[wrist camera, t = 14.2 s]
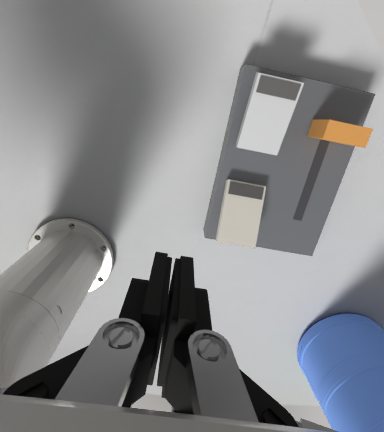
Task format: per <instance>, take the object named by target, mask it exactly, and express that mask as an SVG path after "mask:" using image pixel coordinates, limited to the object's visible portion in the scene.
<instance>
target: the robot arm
mask: <svg viewBox="0 0 384 432" xmlns="http://www.w3.org/2000/svg"><path fill="white" fill-rule="evenodd" d="M73 224H74V225H73ZM104 246H105V247H104ZM27 250H28V252H27V253H26V254H25V255H24V256H22V257H21V258H20V259H19V260H18V261H16V262H15V263H14V264H13V265H12V266H10V267H9V268H8V269H7V270H6V271H4V272H3V273H2V274H1V275H0V432H338V431H335V430H332V429H330V428H327V427H324V426H321V425H318V424H315V423H313V422H310V421H307V420H304V419H300V421H299V422H297V421H295V420H294V418H293V417H292V416H291V414H290V413H288V411H287V410H286V409H285V408H284V407H282V406H281V405H280V404H279V403H278V402H277V401H276V400H274V399H273V398H272V397H271V396H270V395H269V394H268V393H266V392H265V391H264V390H263V389H262V388H261V387H260V386H258V385H257V384H256V383H255V382H254V381H253V380H251V379H250V378H249V377H248V376H247V375H246V374H245V373H243V372H242V371H241V370H240V369H239V367H238V365H237V362H236V359H235V357H234V354H233V351H232V348H231V346H230V344H229V342H228V341H227V340H226V339H225V338H224V337H223V336H222V335H220V334H219V333H217V332H214V331H212V325H211V317H210V309H209V301H208V293H207V290H206V289H200V288H195V285H194V265H193V258H191V257H185V256H181V257H180V259H177V258H176V259H175V264H174V269H173V274H172V279H171V284H170V289H169V283H170V273H171V263H172V258H171V257H167V256H168V254H167V253H160V252H156V253H155V257H154V262H153V266H152V270H151V275H150V279H149V280H142V279H136V278H132V280H131V283H130V286H129V289H128V292H127V295H126V298H125V301H124V304H123V306H122V309H121V312H120V315H119V318H117V319H113V320H110V321H108V322H106V323H105V324H103V326H102V327H101V328H100V329H99V330H98V332H97V334H96V335H95V337H94V338H93V340H92V341H91V343H90V345H89V346H87V347H84V348H82V349H80V350H78V351H76V352H74V353H72V354H70V355H68V356H66V357H64V358H62V359H60V360H58V361H56V362H54V363H52V364H50V365H48V366H47V364H48V362H49V360H50V359H51V357H52V355H53V353H54V352H55V350H56V348H57V346H58V344H59V343H60V341H61V339H62V337H63V336H64V334H65V332H66V330H67V329H68V327H69V325H70V323H71V321H72V320H73V318H74V316H75V314H76V313H77V311H78V309H79V307H80V306H81V304H82V302H83V300H84V299H85V297H86V295H87V293H88V292H90V291H93V290H95V289H97V288H99V287H100V286H101V285H102V284H103V283H104V282H105V281H106V280H107V279H108V277H109V275H110V273H111V271H112V268H113V262H114V257H113V251H112V248H111V245H110V243H109V242H108V240H107V238H106V237H105V236H104V235H103V234H102V233H101V232H100V231H99V230H98V229H97V228H95V227H94V226H92V225H90V224H89V223H86V222H84V221H81V220H77V219H73V218H61V219H55V220H52V221H49V222H47V223H46V224H44V225H42V226H41V227H40V228H39V229H37V230H36V231H35V232H34V234H33V235H32V237H31V239H30V241H29V244H28V249H27ZM168 293H169V294H168ZM161 340H162V344H161ZM160 345H161V353H160V362H159V371H158V380H157V386H162V398H166V399H167V401H168V402H169V403H170V404H171V405H172V410H171V412H163V411H154V410H146V409H137V408H132V405H133V403H134V402H136V401H137V400H138V399H140V398H141V397H142V396H144V395H145V392H146V387H147V385H152V384H153V379H154V374H155V369H156V364H157V359H158V354H159V350H160Z"/></svg>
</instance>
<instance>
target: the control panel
mask: <svg viewBox="0 0 384 432" xmlns="http://www.w3.org/2000/svg"><path fill="white" fill-rule="evenodd" d="M256 72H259V73H263V74H268V75H272V76H277V77H281V78H285V79H290V80H294V81H298V82H302V83H304V85H303V88H302V91H301V93H300V96H299V98H298V101H297V104H296V106H295V109H294V112H293V114H292V117H291V120H290V122H289V125H288V128H287V130H286V133H285V136H284V138H283V141H282V144H281V146H280V149H279V152H278V154H277V156H276V155H271V154H267V153H262V152H257V151H252V150H247V149H242V148H237V147H236V141H237V138H238V134H239V131H240V127H241V124H242V120H243V117H244V113H245V110H246V106H247V103H248V99H249V96H250V92H251V89H252V85H253V82H254V78H255V75H256ZM374 96H375V94H373V93H369V92H365V91H360V90H356V89H352V88H347V87H343V86H339V85H334V84H330V83H326V82H321V81H317V80H313V79H308V78H304V77H300V76H295V75H291V74H287V73H282V72H278V71H274V70H269V69H265V68H261V67H256V66H252V65H248V64H245V65H244V66H243V67H242V68H240V72H239V76H238V81H237V85H236V90H235V94H234V98H233V103H232V107H231V111H230V116H229V120H228V125H227V129H226V133H225V138H224V142H223V146H222V151H221V155H220V160H219V164H218V168H217V173H216V177H215V182H214V186H213V190H212V195H211V199H210V203H209V208H208V212H207V217H206V221H205V225H204V235H205V238H209V239H215V240H216V235H217V229H218V224H219V218H220V212H221V207H222V201H223V195H224V190H225V184H226V180H228V179H230V180H235V181H241V182H246V183H251V184H256V185H261V186H266V191H265V196H264V202H263V208H262V213H261V219H260V225H259V231H258V236H257V242H256V247H262V248H268V249H273V250H279V251H285V252H291V253H297V254H303V255H309V256H312V255H313V252H314V250H315V247H316V244H317V242H318V239H319V237H320V234H321V232H322V229H323V227H324V224H325V221H326V219H327V216H328V214H329V211H330V209H331V206H332V204H333V201H334V198H335V196H336V193H337V191H338V188H339V186H340V183H341V180H342V178H343V175H344V173H345V170H346V168H347V165H348V163H349V160H350V157H351V155H352V152H353V150H354V147H355V146H352V145H345V144H340V143H336V142H331V141H326V140H321V139H317V138H312V137H307V135H308V132H309V129H310V126H311V123H312V120H334V121H339V122H343V123H348V124H352V125H357V126H361V127H363V124H364V122H365V119H366V116H367V114H368V111H369V109H370V106H371V104H372V101H373V99H374Z"/></svg>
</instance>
